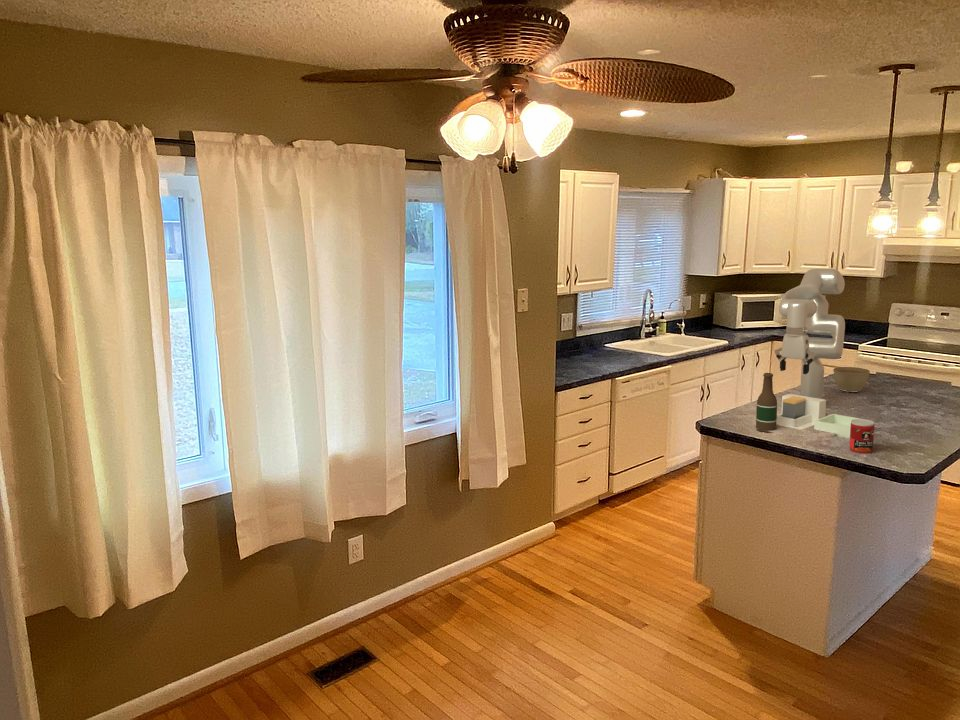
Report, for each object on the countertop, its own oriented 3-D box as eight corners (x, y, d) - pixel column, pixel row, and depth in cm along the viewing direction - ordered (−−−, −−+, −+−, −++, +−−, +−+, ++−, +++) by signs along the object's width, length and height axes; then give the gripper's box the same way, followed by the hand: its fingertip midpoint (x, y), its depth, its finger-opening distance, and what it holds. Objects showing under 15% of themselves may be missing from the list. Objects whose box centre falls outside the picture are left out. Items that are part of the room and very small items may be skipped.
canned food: (853, 453, 250) (855, 424, 248) (845, 446, 258) (847, 418, 256) (876, 454, 249) (878, 424, 247) (867, 447, 256) (869, 418, 255)
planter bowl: (825, 390, 348) (826, 369, 346) (845, 386, 355) (846, 365, 354) (855, 396, 334) (856, 374, 332) (875, 391, 341) (877, 370, 340)
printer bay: (788, 415, 303) (789, 393, 301) (824, 422, 290) (826, 399, 289) (764, 424, 290) (765, 401, 289) (801, 432, 278) (803, 408, 276)
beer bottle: (780, 431, 280) (783, 373, 276) (767, 434, 276) (770, 376, 272) (764, 426, 287) (766, 370, 283) (751, 430, 283) (753, 373, 279)
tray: (832, 424, 288) (832, 413, 287) (867, 430, 277) (868, 419, 277) (813, 431, 278) (814, 420, 277) (849, 438, 267) (850, 427, 267)
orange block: (792, 418, 294) (793, 396, 292) (804, 421, 290) (805, 398, 288) (781, 422, 288) (782, 399, 287) (793, 425, 284) (794, 401, 283)
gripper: (821, 332, 278) (819, 373, 281) (780, 328, 292) (778, 368, 295) (812, 334, 274) (810, 376, 277) (771, 330, 287) (769, 370, 290)
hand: (794, 372), depth 286 cm, fingers open, 9 cm apart
